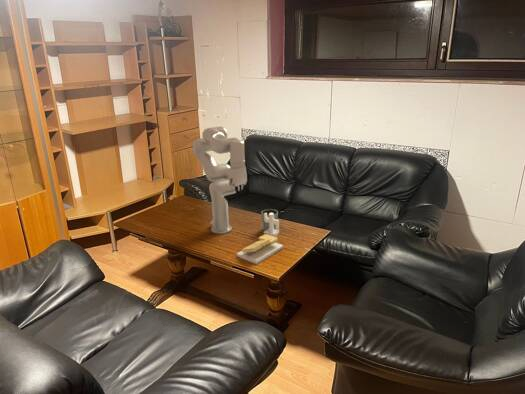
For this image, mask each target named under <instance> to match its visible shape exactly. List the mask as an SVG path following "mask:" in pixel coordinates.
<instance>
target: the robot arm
mask: <svg viewBox="0 0 525 394" xmlns="http://www.w3.org/2000/svg"><path fill="white" fill-rule="evenodd" d="M201 134H202V138H197V139H196V140H194V141H193V142H192V150H193V154H194V155H195V157H196V159H197V160H198V162H199V163H200V165H201V167H202V169H203V172H204V174H205V177H206V179H207V180H208V181H209V182H211V183H210V184H209V187H208V189H209V194H210V197H211V199H210V200H211V209H212V219H211V221H210V222H209V224H210V225H212V227H211V229H210V231H211V232H212V233H214V234H218V235H220V234H221V235H222V234H227V233H229V232H231V231H232V229H233V228H232V226H231V225H230V221H229V204H228V200H227V199H226V198H225V196H229V195H233V194H235V197H236V198H239V199H240V198H242V197H243V189H244V186H246V184H247V182H248V173H247V167H246V159H245V157H246V156H245V142H244V141H243V140H241V139H239V138H237V137H228V131H227V129H226V128H225V127H223V126H215V127H214V126H213V127H207V128H205V129H204V130H203V132H202V133H201ZM209 152H214V153H216V154H221V155H222V154H228V153H229V159H230V165H229V164H227V163H218V164H217V162H216V160H215V159H214V157H213V156H212V155H211V154H209Z"/></svg>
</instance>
